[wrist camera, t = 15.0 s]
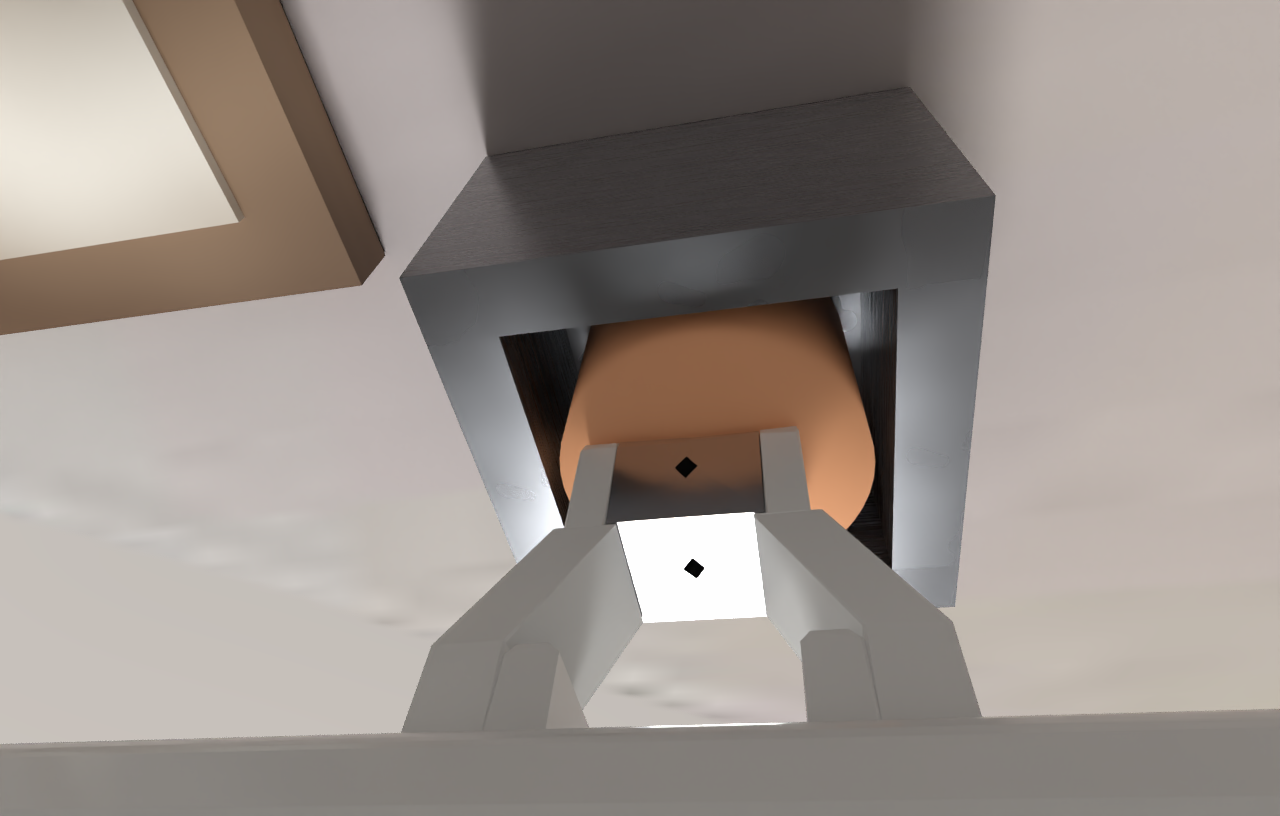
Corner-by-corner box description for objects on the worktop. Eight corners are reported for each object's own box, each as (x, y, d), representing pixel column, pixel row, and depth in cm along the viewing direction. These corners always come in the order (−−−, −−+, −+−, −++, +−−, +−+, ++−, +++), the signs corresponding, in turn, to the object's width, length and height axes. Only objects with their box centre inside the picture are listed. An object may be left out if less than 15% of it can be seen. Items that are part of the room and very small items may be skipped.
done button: (561, 260, 12) (523, 363, 10) (841, 221, 11) (875, 323, 9) (615, 464, 15) (596, 586, 12) (847, 444, 14) (874, 569, 12)
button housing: (486, 156, 13) (399, 278, 9) (909, 87, 12) (996, 195, 8) (579, 461, 17) (543, 627, 13) (900, 433, 16) (954, 606, 12)
